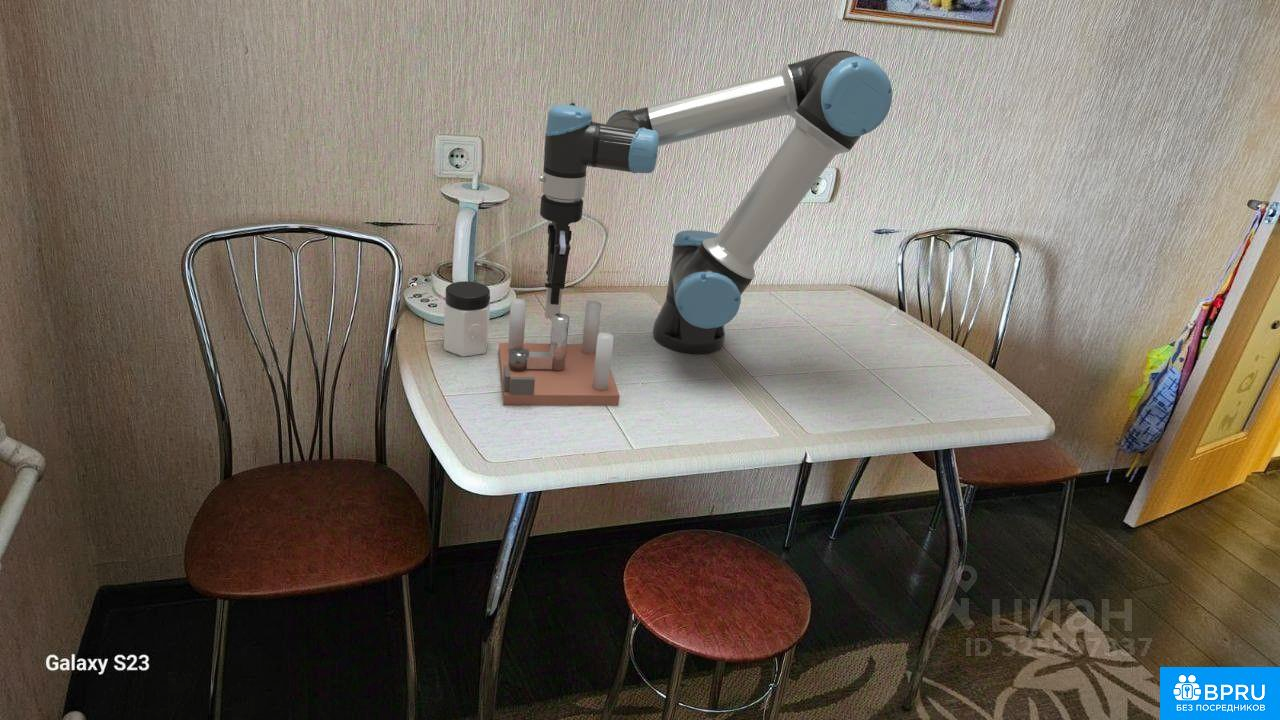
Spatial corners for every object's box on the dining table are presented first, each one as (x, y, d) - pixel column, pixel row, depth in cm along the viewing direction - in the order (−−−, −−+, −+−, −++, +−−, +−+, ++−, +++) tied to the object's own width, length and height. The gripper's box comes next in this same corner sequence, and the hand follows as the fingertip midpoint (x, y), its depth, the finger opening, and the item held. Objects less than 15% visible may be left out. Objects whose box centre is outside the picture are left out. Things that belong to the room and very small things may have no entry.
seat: (600, 353, 161) (607, 297, 155) (618, 405, 144) (625, 344, 138) (498, 352, 156) (501, 294, 151) (503, 405, 139) (506, 342, 134)
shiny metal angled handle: (508, 370, 145) (511, 319, 141) (507, 361, 148) (510, 311, 144) (566, 371, 148) (570, 321, 143) (563, 362, 151) (568, 312, 146)
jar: (452, 359, 151) (453, 300, 146) (436, 341, 157) (436, 283, 152) (496, 352, 156) (499, 294, 151) (480, 335, 162) (481, 278, 157)
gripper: (538, 184, 149) (529, 302, 160) (544, 206, 138) (535, 331, 149) (578, 187, 151) (567, 304, 162) (588, 208, 140) (575, 332, 150)
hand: (552, 317), depth 155 cm, fingers closed
